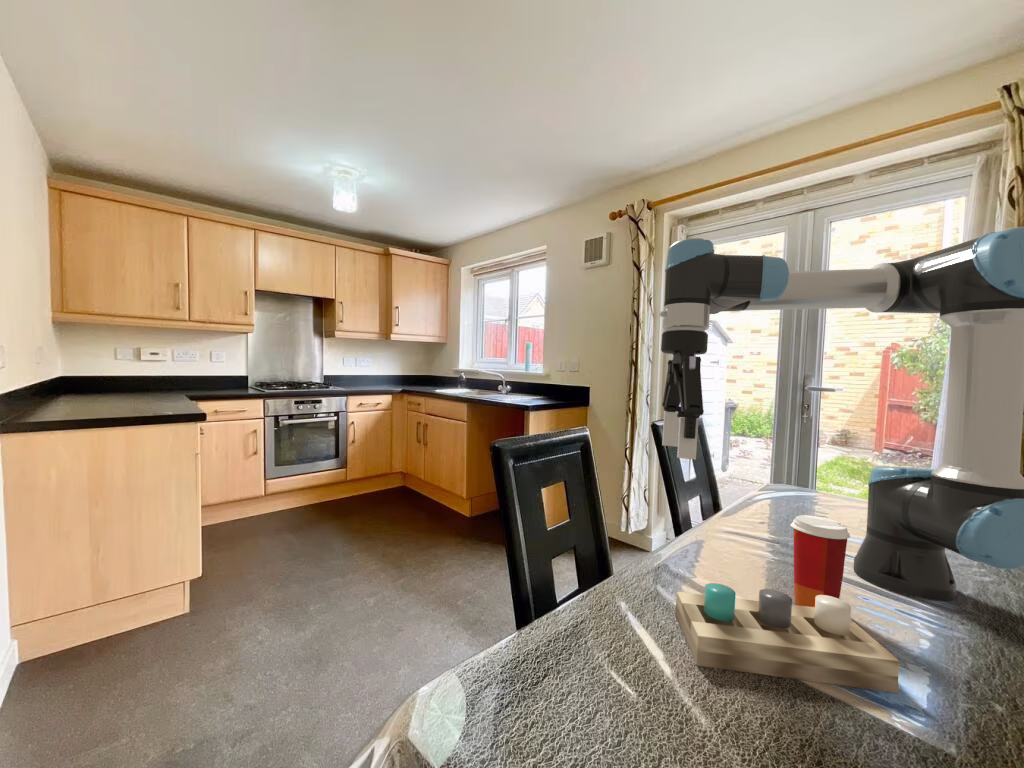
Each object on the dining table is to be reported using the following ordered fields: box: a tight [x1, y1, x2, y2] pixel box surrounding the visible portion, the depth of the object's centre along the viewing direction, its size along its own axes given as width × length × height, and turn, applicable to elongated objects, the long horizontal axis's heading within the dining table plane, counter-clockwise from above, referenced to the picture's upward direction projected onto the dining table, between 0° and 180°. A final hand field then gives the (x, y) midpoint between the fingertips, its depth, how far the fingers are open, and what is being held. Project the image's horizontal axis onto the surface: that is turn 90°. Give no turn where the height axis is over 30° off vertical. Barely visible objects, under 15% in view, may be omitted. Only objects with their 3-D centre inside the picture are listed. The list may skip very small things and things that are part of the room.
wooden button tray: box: [675, 591, 900, 694], centre depth 61 cm, size 24×12×4 cm, turn 82°
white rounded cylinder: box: [814, 595, 852, 635], centre depth 60 cm, size 4×4×4 cm
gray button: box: [758, 588, 793, 628], centre depth 61 cm, size 4×4×4 cm
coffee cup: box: [790, 514, 851, 607], centre depth 73 cm, size 8×8×15 cm
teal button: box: [704, 582, 736, 621], centre depth 62 cm, size 4×4×4 cm
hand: (677, 451), depth 75 cm, fingers open, 13 cm apart
